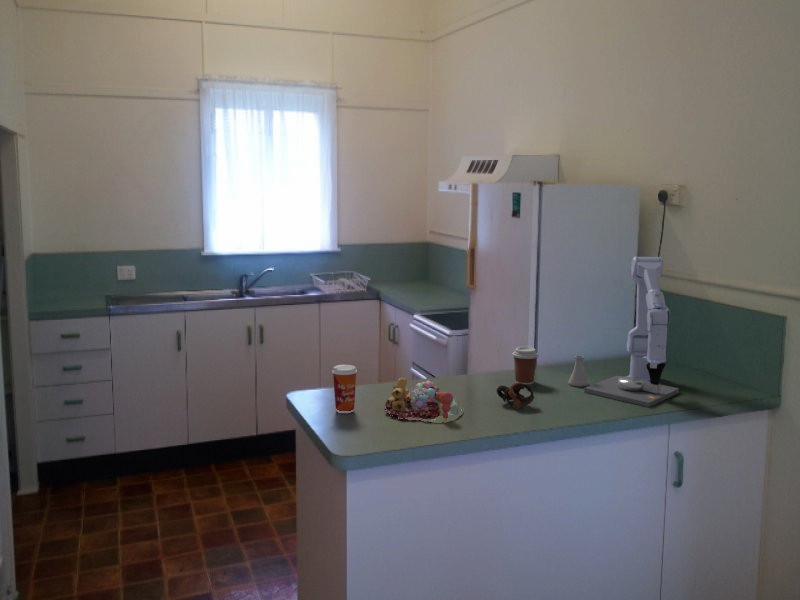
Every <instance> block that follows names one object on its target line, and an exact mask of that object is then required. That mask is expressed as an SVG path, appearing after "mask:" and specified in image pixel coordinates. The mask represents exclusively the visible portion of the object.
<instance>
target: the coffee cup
mask: <svg viewBox="0 0 800 600" xmlns="http://www.w3.org/2000/svg"><path fill="white" fill-rule="evenodd" d="M511 356H512V357H513V361H514V380H515V383H524V384H527V385H529V386H530V385H533V384H534V382H535V373H536V366H537V358H539V356H540V355H539V353H538V352H537V350H536V348H535V347H531V346H518V347H516V348H515V350H514V351H513V352H512V353H511Z"/></svg>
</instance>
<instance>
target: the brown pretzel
mask: <svg viewBox="0 0 800 600" xmlns="http://www.w3.org/2000/svg"><path fill="white" fill-rule="evenodd" d="M525 388H526V389H527V391H528V392H530V395H528V396H525V395H524V394H521V392H520V391H521V390H525ZM496 394H497V395H498V396H499V398H500V399H501V400H503V402H504V403H506V402H507V401H508V402H510V401H514V403H513V405H512V408H513V409H515V410H519V409H520V408H523V407H527V406H529V405H531V404H532V403H533V401H534V399H535V396H534V389H533V388H532V387H531V386H530V384H529V385H527V384H524V383H516V382H515V383H513V384H511V386H510V387H509V386H507V385H498V387H497V388H496Z"/></svg>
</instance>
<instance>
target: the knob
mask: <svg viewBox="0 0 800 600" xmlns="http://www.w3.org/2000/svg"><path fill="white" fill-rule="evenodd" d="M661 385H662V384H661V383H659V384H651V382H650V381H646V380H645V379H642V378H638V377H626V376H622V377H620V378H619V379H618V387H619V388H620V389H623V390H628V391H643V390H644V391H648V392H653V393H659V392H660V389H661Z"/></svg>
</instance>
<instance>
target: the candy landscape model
mask: <svg viewBox="0 0 800 600" xmlns="http://www.w3.org/2000/svg"><path fill="white" fill-rule="evenodd" d="M407 382H408V379H407V378H406V377H400V378H398V380H397V382H396V385H395V386H393V387H392V388H393V390H392V392H391V397H388V399H387V400H386V402H385V405H384V406H385V407H386V410H385V409H384V413H385V412H386V413H390V414H389V416H390V415H394V416H397V414H398V416H397V417H399V418H403V419H405V418H409V419H421V420H428V421H433V420H434V421H435V420H436V419H435V418H436V417H438V416H443V418H442V419H443V421H446V420H447V418H448V416H449V414H450V415H459V414H461V411H462V409H461V408H462V407H461V406H460V400H456V399H455V398H454V396H453V394H452V393H451V392H450V391H443V392H441V389H440V388H439V387H437V386H436V383H435V381H434V382H433V381H430V380H426V381H421V382H418V380H417V381H416V382H414V381H412V385H411V387H410V389H409V388H406V386H407V384H408V383H407ZM385 407H384V408H385ZM460 407H461V408H460ZM386 413H385V414H386Z"/></svg>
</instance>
